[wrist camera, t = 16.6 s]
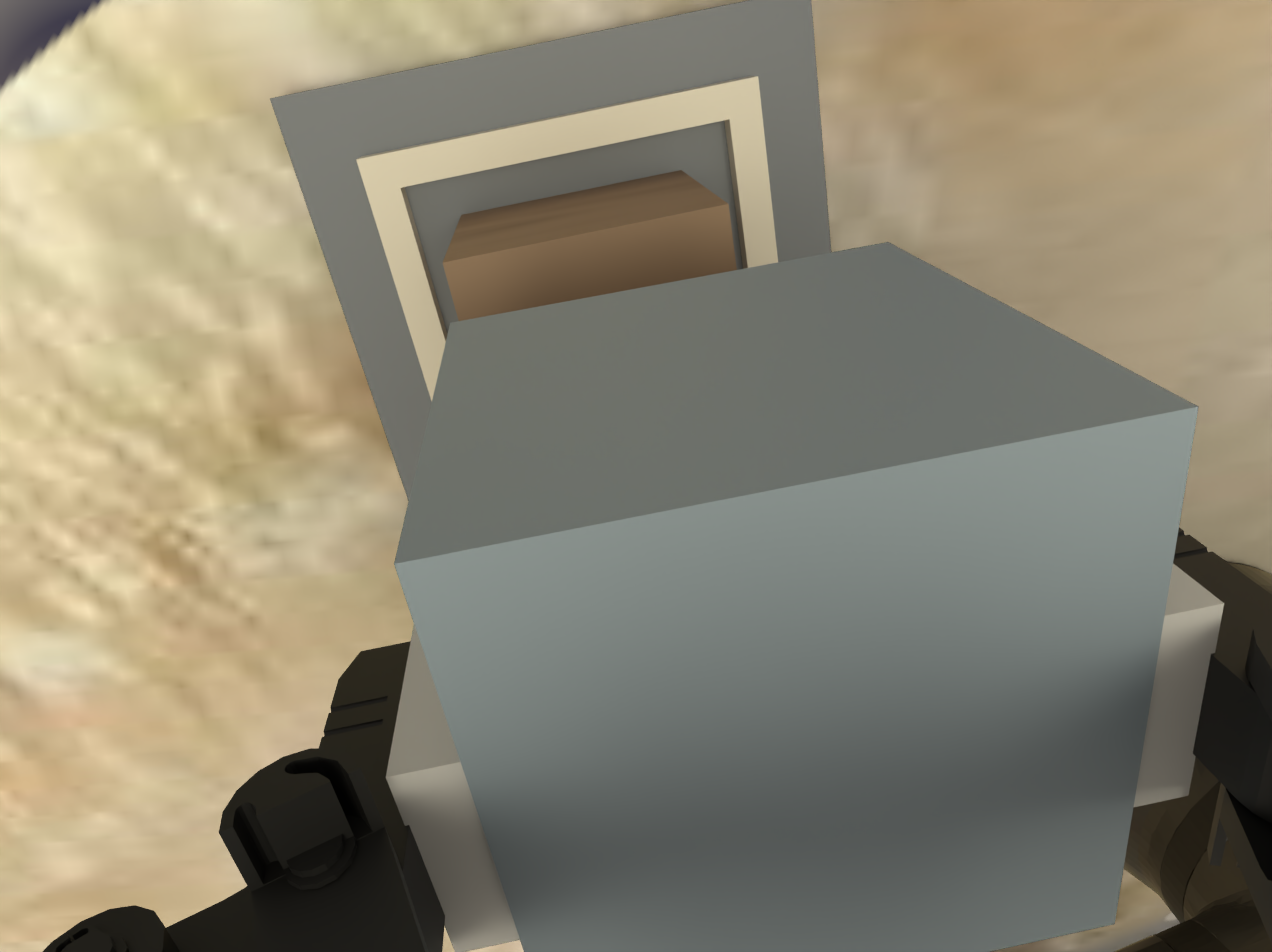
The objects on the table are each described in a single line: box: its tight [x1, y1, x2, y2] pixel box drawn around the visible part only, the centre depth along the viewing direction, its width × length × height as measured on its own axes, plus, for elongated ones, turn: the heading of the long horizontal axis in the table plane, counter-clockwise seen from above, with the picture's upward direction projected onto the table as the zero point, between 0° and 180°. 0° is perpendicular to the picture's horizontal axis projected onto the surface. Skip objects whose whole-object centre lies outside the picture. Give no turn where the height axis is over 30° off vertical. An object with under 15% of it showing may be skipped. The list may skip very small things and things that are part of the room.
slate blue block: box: [394, 242, 1198, 952], centre depth 12 cm, size 7×7×7 cm
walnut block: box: [443, 170, 737, 321], centre depth 25 cm, size 7×7×7 cm
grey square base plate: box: [270, 0, 831, 501], centre depth 29 cm, size 16×16×3 cm
